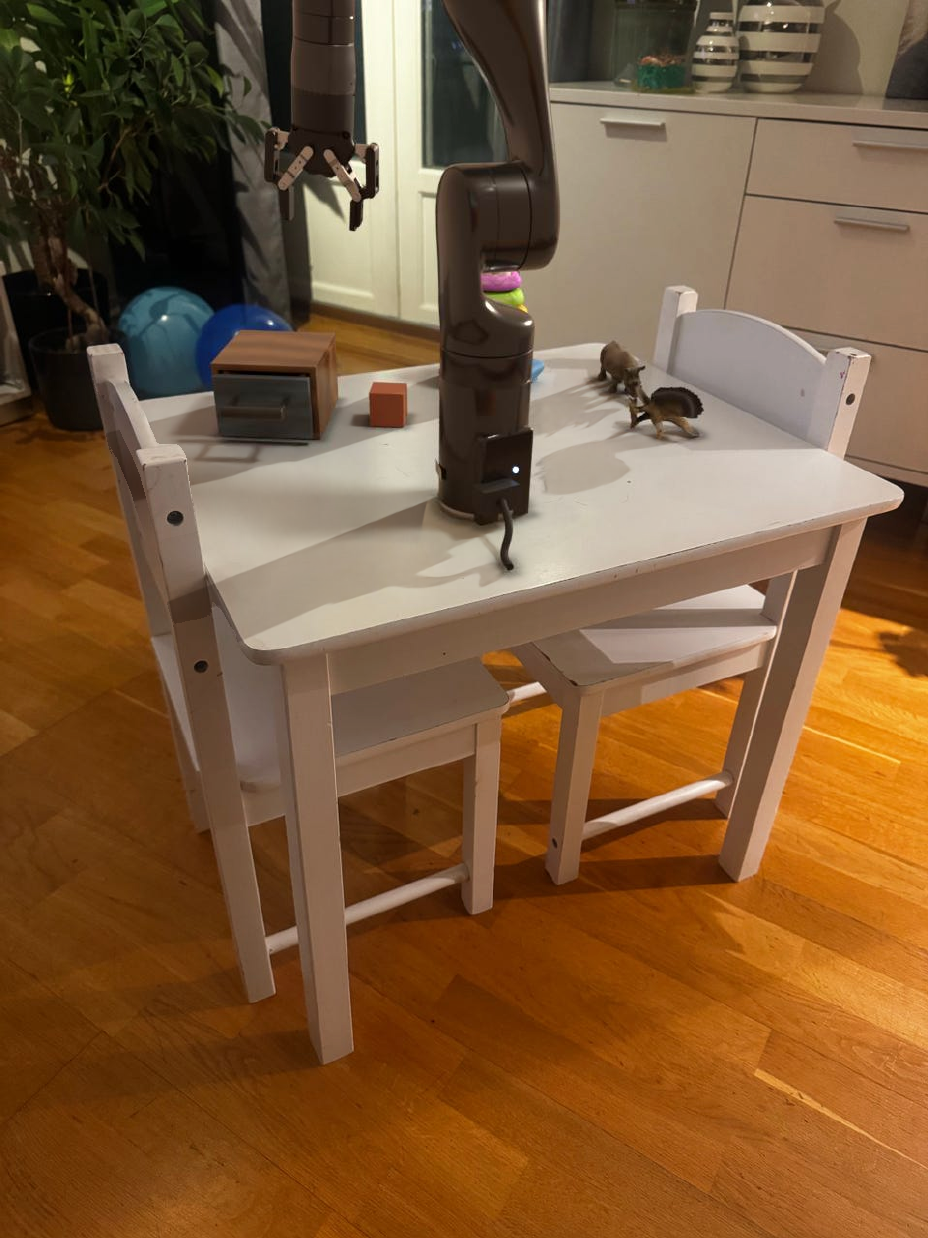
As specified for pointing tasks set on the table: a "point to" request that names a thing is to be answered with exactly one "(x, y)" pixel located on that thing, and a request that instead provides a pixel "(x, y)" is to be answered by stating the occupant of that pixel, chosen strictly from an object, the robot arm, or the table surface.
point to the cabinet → (288, 363)
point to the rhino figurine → (620, 368)
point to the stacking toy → (508, 300)
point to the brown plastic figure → (667, 408)
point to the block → (388, 404)
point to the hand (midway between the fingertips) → (321, 224)
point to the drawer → (263, 404)
